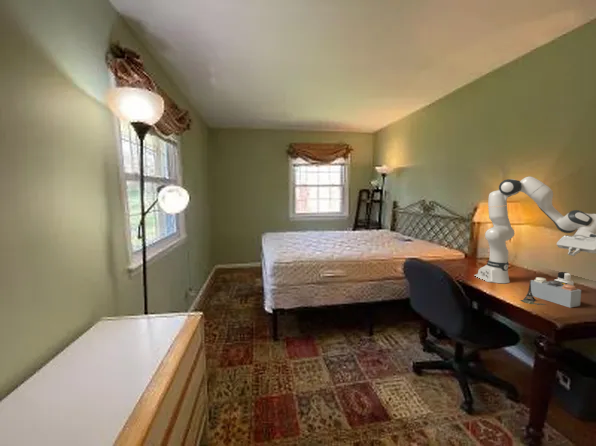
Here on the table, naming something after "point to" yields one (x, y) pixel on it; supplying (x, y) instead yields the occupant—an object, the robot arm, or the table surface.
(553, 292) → the button console
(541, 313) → the table surface
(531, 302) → the eiffel tower figurine
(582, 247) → the robot arm
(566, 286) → the button terracotta
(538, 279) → the button cream
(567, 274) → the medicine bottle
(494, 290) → the table surface
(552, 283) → the button charcoal
